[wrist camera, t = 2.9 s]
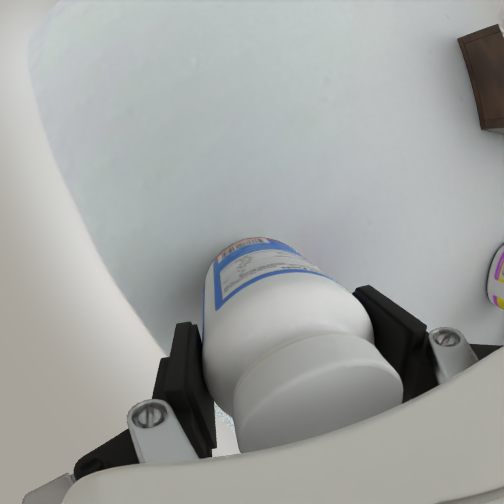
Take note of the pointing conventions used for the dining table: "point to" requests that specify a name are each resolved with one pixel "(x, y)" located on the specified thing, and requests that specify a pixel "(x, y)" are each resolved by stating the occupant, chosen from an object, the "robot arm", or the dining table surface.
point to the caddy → (487, 74)
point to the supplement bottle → (497, 279)
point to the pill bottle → (288, 348)
